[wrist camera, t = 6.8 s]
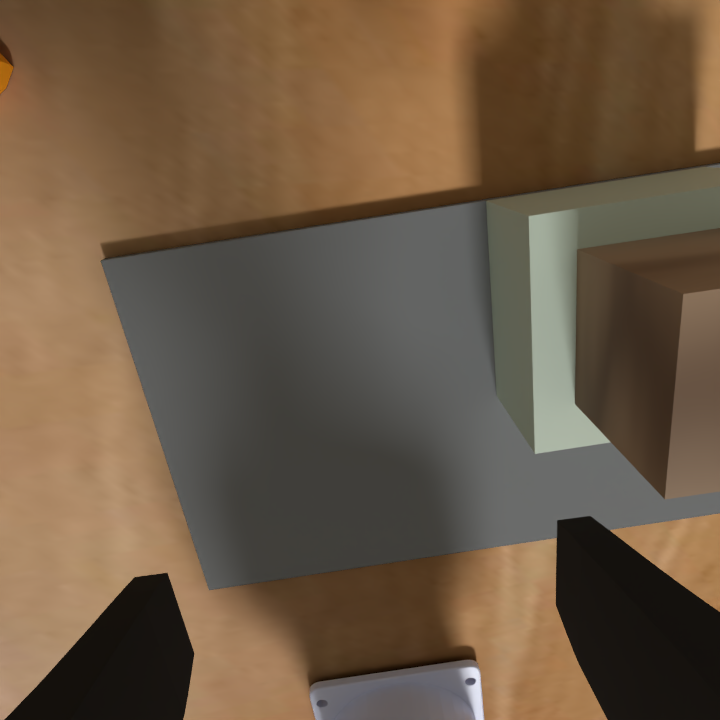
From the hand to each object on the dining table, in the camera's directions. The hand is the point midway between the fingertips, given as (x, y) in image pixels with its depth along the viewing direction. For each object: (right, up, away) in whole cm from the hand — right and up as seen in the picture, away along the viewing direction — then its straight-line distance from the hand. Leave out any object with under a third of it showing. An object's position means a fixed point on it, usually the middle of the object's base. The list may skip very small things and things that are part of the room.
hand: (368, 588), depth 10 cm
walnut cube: (+8, +5, +5) cm, 11 cm away
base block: (+8, +7, +9) cm, 13 cm away
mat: (+3, +3, +10) cm, 11 cm away
